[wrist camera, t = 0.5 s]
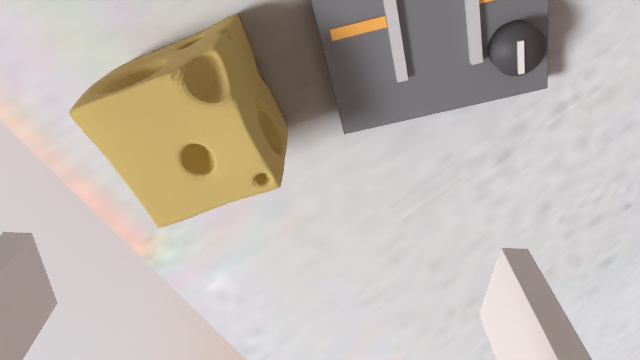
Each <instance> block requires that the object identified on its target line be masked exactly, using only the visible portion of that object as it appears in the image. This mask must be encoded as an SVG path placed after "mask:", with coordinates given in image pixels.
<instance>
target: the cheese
mask: <svg viewBox="0 0 640 360" xmlns="http://www.w3.org/2000/svg"><path fill="white" fill-rule="evenodd" d="M69 115H70V117H71V118H72V119H73V121H74V122H75V123H76V124H77V125H78V126H79V127H80V128H81V130H82V131H83V132H84V133H85V134H86V135H87V136H88V137H89V138H90V140H91V141H92V142H93V143H94V144H95V145H96V146H97V147H98V148H99V150H100V151H101V152H102V153H103V154H104V155H105V156H106V158H107V159H108V160H109V162H110V163H111V164H112V166H113V167H114V168H115V169H116V171H117V172H118V173H119V175H120V176H121V177H122V179H123V180H124V181H125V183H126V184H127V185H128V187H129V188H130V189H131V191H132V192H133V193H134V195H135V196H136V197H137V199H138V200H139V201H140V203H141V204H142V206H143V207H144V208H145V210H146V211H147V213H148V214H149V215H150V217H151V218H152V220H153V221H154V223H155V224H156V226H157V227H164V226H167V225H171V224H174V223H177V222H180V221H183V220H186V219H188V218H191V217H193V216H196V215H198V214H201V213H203V212H206V211H208V210H211V209H214V208H216V207H219V206H222V205H224V204H227V203H230V202H233V201H236V200H239V199H243V198H246V197H250V196H253V195H257V194H260V193H264V192H268V191H271V190H274V189H277V188H279V187H280V186H281V181H282V176H283V171H284V160H285V154H286V147H287V124H286V121H285V119H284V117H283V115H282V113H281V111H280V109H279V107H278V105H277V103H276V101H275V99H274V97H273V95H272V93H271V91H270V89H269V87H268V85H267V84H266V83H265V82H264V81H263V80H262V78H261V77H260V75H259V72H258V69H257V66H256V62H255V55H254V53H253V50H252V48H251V45H250V43H249V41H248V38H247V35H246V33H245V30H244V27H243V25H242V22H241V19H240V17H239V16H238V15H233V16H230V17H228V18H226V19H224V20H222V21H220V22H219V23H217V24H215V25H213V26H211V27H210V28H208V29H206V30H204V31H202V32H199V33H197V34H195V35H193V36H190V37H188V38H185V39H183V40H180V41H178V42H176V43H173V44H171V45H168V46H166V47H164V48H161V49H159V50H156V51H154V52H152V53H149V54H146V55H144V56H141V57H139V58H136V59H134V60H132V61H130V62H128V63H126V64H123V65H121V66H120V67H118V68H116V69H114V70H113V71H111V72H110V73H108V74H107V75H106V76H104V77H103V78H101V79H100V80H99V81H97V82H96V83H95V84H93V85H92V86H91V87H90V88H89V89H88V90H87V91H86V92H85V93H84V94H83V95H82V96H81V97H80V99H79V100H78V101H77V102H76V104H75V105H74V106H73V107H72V109H71V110H70V112H69Z"/></svg>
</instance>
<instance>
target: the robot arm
mask: <svg viewBox="0 0 640 360" xmlns="http://www.w3.org/2000/svg"><path fill="white" fill-rule="evenodd" d="M56 304H57V301H56V298H55V295H54V293H53V290H52V287H51V284H50V282H49V279H48V277H47V273H46V271H45V268H44V265H43V263H42V260H41V257H40V254H39V252H38V249H37V246H36V243H35V241H34V238H33V235H32V233H12V232H3V233H2V234H1V236H0V360H23V358H24V356H25V355H26V353H27V352H28V350H29V348H30V347H31V345H32V344H33V342H34V340H35V338H36V337H37V335H38V334H39V332H40V330H41V329H42V327H43V326H44V324H45V322H46V321H47V319H48V317H49V316H50V314H51V312H52V311H53V309H54V308H55V306H56ZM479 316H480V319H481V322H482V324H483V327H484V330H485V332H486V335H487V337H488V340H489V343H490V345H491V348H492V351H493V353H494V356H495V359H496V360H592V359H591V357H590V356H589V354H588V352H587V350H586V349H585V347H584V345H583V344H582V342H581V340H580V338H579V337H578V335H577V333H576V331H575V330H574V328H573V326H572V325H571V323H570V321H569V319H568V318H567V316H566V314H565V312H564V311H563V309H562V307H561V306H560V304H559V302H558V300H557V299H556V297H555V295H554V293H553V292H552V290H551V288H550V287H549V285H548V283H547V281H546V280H545V278H544V276H543V274H542V273H541V271H540V269H539V268H538V266H537V264H536V262H535V261H534V259H533V257H532V255H531V254H530V252H529V250H528V249H512V248H501V251H500V254H499V256H498V259H497V262H496V265H495V268H494V271H493V274H492V277H491V280H490V283H489V286H488V289H487V292H486V295H485V298H484V301H483V304H482V307H481V309H480V312H479Z"/></svg>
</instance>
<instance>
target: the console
mask: <svg viewBox="0 0 640 360" xmlns="http://www.w3.org/2000/svg"><path fill="white" fill-rule="evenodd" d="M311 2H312V6H313V10H314V14H315V18H316V22H317V26H318V30H319V34H320V38H321V42H322V46H323V51H324V55H325V59H326V63H327V67H328V71H329V75H330V79H331V83H332V87H333V91H334V95H335V99H336V103H337V107H338V111H339V115H340V119H341V123H342V127H343V131H344V134H347V133H352V132H356V131H360V130H365V129H369V128H374V127H378V126H382V125H387V124H391V123H396V122H400V121H404V120H409V119H413V118H418V117H422V116H427V115H431V114H435V113H440V112H444V111H449V110H453V109H457V108H462V107H466V106H471V105H475V104H480V103H484V102H488V101H493V100H497V99H502V98H506V97H510V96H515V95H519V94H524V93H528V92H533V91H537V90H541V89H546V88H547V80H548V0H311Z"/></svg>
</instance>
